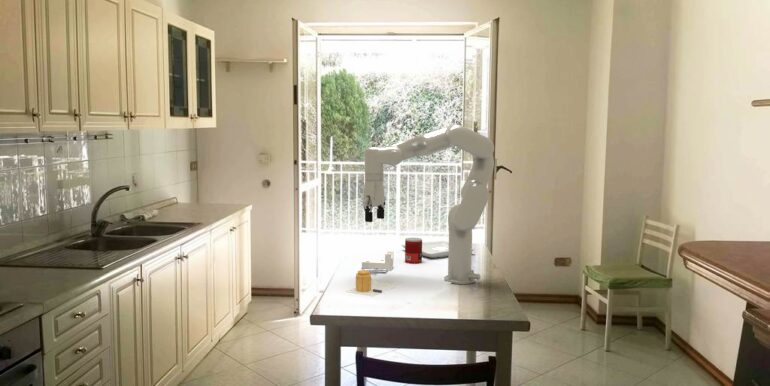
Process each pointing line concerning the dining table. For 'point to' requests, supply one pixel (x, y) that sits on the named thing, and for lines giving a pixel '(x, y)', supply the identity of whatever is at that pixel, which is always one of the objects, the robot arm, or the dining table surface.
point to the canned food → (413, 250)
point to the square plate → (432, 253)
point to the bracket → (379, 262)
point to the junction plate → (375, 288)
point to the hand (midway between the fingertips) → (374, 220)
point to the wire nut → (363, 281)
